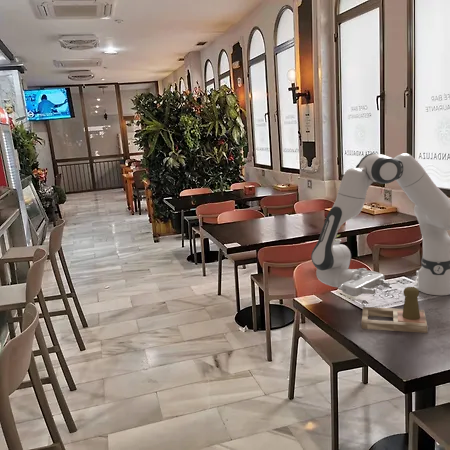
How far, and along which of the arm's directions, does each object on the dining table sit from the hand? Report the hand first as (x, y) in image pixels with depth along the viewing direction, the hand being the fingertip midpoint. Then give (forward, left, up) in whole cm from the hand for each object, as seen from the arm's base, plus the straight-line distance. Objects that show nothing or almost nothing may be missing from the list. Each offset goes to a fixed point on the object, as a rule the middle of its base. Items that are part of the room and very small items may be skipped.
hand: (381, 288), depth 173 cm
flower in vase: (-59, -23, -11) cm, 64 cm away
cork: (+6, +10, -8) cm, 14 cm away
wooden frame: (+6, +4, -11) cm, 13 cm away
